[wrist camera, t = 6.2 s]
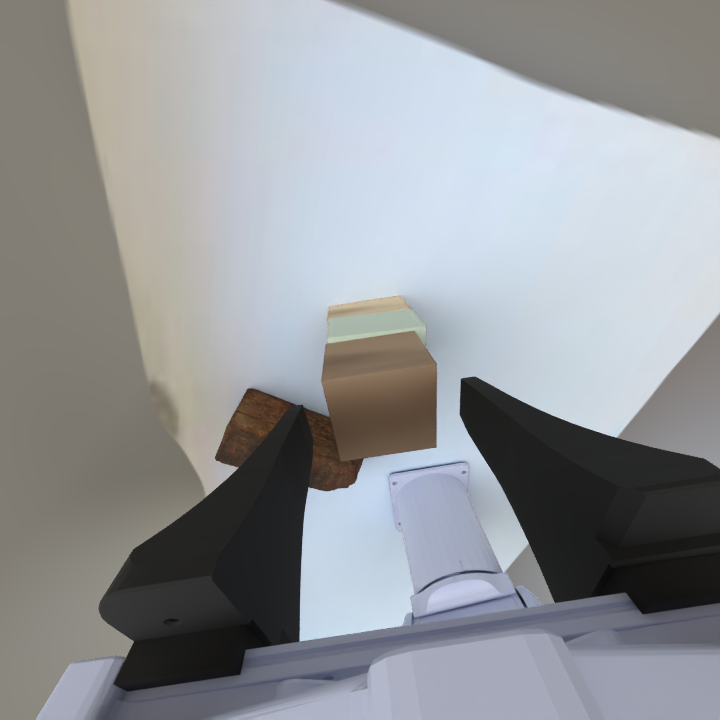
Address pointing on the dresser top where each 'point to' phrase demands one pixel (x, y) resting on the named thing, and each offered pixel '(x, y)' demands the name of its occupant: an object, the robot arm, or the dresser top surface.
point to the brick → (259, 420)
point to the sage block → (375, 325)
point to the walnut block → (381, 395)
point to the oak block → (367, 307)
